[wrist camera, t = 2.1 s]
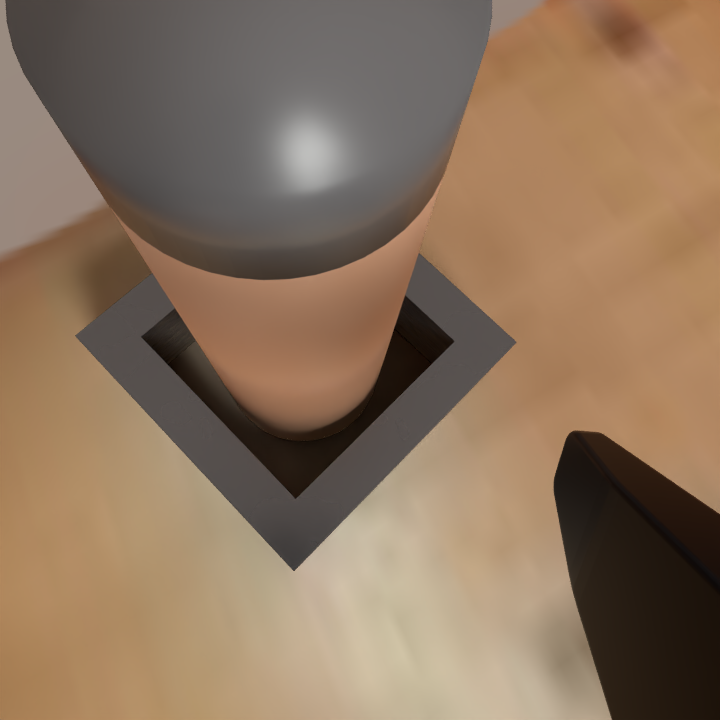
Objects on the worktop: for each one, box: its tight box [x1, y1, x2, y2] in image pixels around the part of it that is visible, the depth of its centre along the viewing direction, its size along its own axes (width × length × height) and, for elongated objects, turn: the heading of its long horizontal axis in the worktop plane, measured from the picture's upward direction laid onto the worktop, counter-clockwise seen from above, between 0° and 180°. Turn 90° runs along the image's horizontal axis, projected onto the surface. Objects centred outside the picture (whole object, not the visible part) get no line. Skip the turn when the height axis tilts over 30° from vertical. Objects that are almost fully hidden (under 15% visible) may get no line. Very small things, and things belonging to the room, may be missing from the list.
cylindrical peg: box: [6, 0, 492, 441], centre depth 14 cm, size 5×5×15 cm
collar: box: [75, 253, 516, 571], centre depth 19 cm, size 9×9×3 cm
